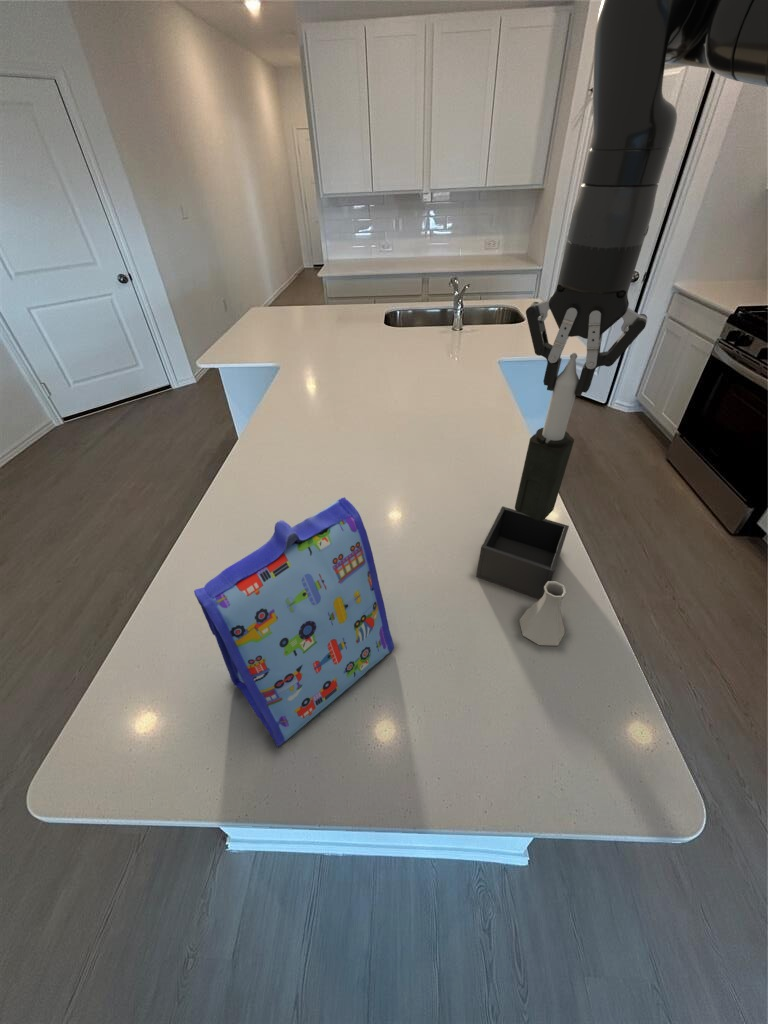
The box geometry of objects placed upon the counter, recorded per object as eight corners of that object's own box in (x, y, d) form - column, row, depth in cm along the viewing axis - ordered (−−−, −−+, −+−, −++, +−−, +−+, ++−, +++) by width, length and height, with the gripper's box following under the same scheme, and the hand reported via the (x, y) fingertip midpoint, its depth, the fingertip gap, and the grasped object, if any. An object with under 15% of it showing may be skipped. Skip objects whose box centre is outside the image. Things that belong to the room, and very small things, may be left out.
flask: (565, 617, 74) (581, 577, 67) (562, 653, 69) (579, 614, 62) (521, 605, 76) (533, 566, 70) (515, 639, 71) (527, 600, 64)
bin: (558, 555, 85) (569, 525, 80) (544, 601, 76) (554, 571, 71) (496, 535, 89) (502, 506, 84) (475, 576, 81) (481, 547, 76)
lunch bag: (342, 602, 77) (324, 467, 59) (396, 652, 70) (395, 515, 51) (231, 683, 66) (164, 549, 48) (280, 753, 59) (224, 625, 40)
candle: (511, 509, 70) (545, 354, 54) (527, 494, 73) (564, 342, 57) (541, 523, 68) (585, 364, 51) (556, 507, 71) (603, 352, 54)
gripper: (529, 239, 46) (503, 392, 58) (679, 248, 41) (619, 414, 52) (545, 228, 51) (519, 371, 63) (681, 235, 46) (625, 389, 57)
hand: (565, 390), depth 57 cm, fingers closed on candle, 3 cm apart
